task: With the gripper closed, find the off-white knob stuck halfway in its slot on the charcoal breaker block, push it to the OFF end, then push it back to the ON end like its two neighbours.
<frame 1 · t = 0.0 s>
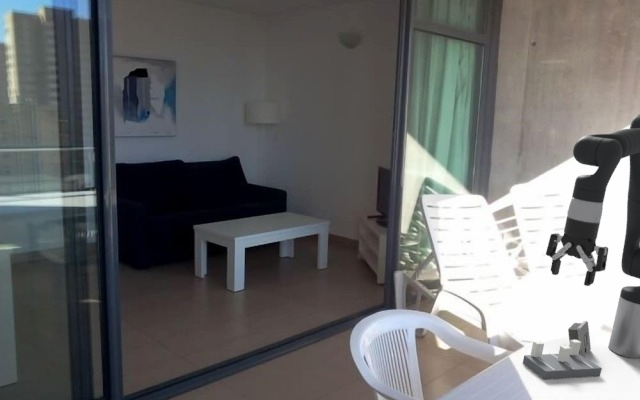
hand: (570, 279, 138), 29 cm above the table, tool pointing down, fingers open, 8 cm apart
breaker block: (560, 369, 153), on the table
inner knob: (574, 347, 158), point 5 cm above the table, slide at -3.3 cm
electrical switch: (577, 352, 167), on the table
outer knob: (537, 349, 154), point 5 cm above the table, slide at -3.3 cm
tripped knob: (564, 353, 153), point 5 cm above the table, slide at 0.0 cm
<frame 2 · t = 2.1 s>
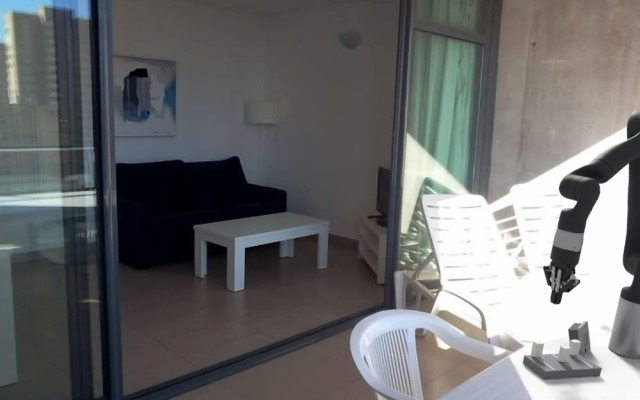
hand: (554, 303, 157), 17 cm above the table, tool pointing down, fingers closed
nothing on the table moved.
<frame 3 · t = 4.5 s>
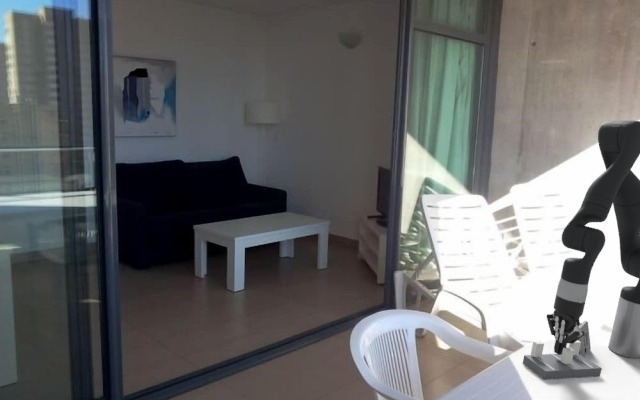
hand: (558, 353, 154), 4 cm above the table, tool pointing down, fingers closed
tripped knob: (567, 355, 152), point 5 cm above the table, slide at 1.2 cm, touching gripper
everything else where it was.
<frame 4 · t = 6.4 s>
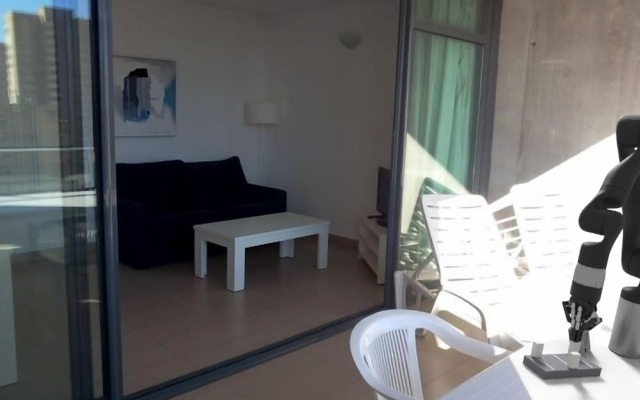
hand: (574, 341, 149), 10 cm above the table, tool pointing down, fingers closed
tripped knob: (573, 360, 149), point 5 cm above the table, slide at 3.6 cm
everything else where it was.
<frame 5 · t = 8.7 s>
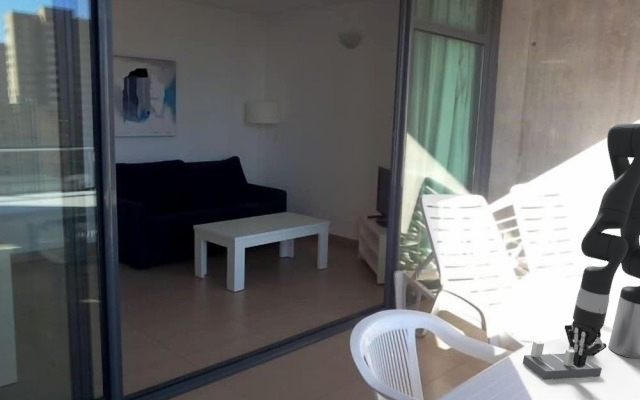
hand: (578, 366, 148), 4 cm above the table, tool pointing down, fingers closed
tripped knob: (570, 357, 151), point 5 cm above the table, slide at 2.2 cm, touching gripper
everything else where it was.
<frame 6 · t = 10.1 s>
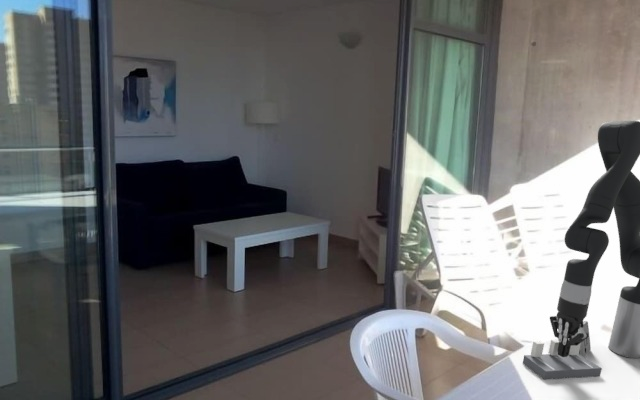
hand: (562, 355, 153), 4 cm above the table, tool pointing down, fingers closed
tripped knob: (555, 347, 156), point 5 cm above the table, slide at -3.7 cm, touching gripper
everything else where it was.
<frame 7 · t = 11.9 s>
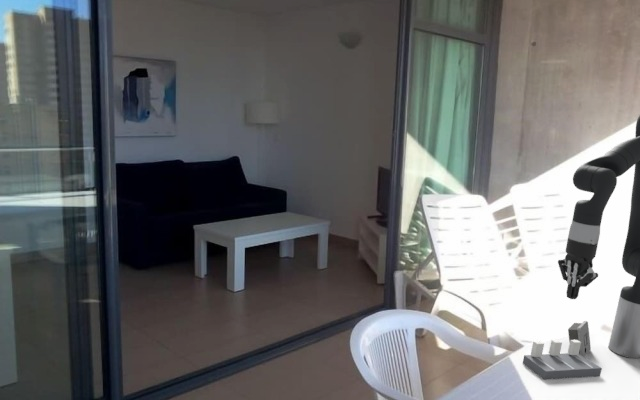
hand: (571, 298, 153), 20 cm above the table, tool pointing down, fingers closed
tripped knob: (555, 347, 156), point 5 cm above the table, slide at -3.6 cm
everything else where it was.
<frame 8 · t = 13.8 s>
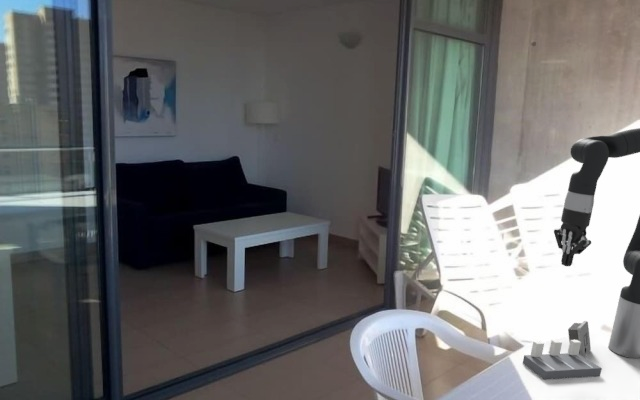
hand: (566, 265, 161), 27 cm above the table, tool pointing down, fingers closed
nothing on the table moved.
at the end: tripped knob slide at -3.6 cm; inner knob slide at -3.3 cm; outer knob slide at -3.3 cm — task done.
